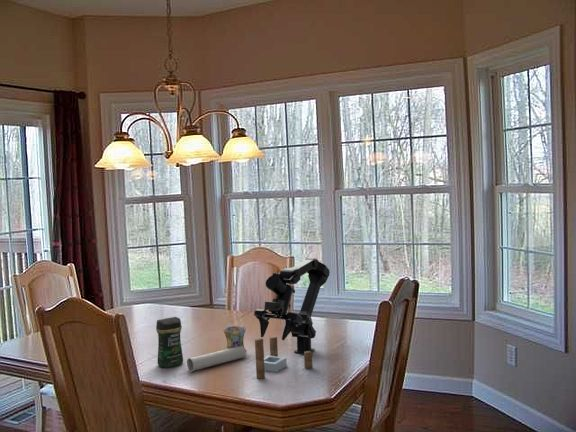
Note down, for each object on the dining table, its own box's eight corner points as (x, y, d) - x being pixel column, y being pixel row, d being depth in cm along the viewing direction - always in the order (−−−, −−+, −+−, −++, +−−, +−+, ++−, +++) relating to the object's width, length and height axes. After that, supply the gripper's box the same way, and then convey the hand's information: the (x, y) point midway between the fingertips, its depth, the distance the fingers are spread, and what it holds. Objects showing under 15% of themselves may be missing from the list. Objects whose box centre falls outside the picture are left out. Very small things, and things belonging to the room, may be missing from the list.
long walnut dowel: (259, 375, 201) (257, 337, 201) (266, 376, 200) (264, 338, 199) (254, 378, 199) (253, 340, 198) (262, 379, 197) (260, 340, 196)
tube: (240, 345, 227) (185, 358, 212) (247, 343, 223) (192, 357, 207) (243, 358, 226) (188, 372, 210) (250, 356, 222) (194, 371, 206)
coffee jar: (163, 369, 212) (160, 322, 211) (155, 365, 219) (152, 318, 218) (186, 364, 218) (184, 317, 217) (177, 359, 224) (175, 314, 223)
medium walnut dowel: (273, 358, 221) (272, 336, 220) (279, 359, 219) (278, 336, 219) (269, 360, 218) (268, 338, 218) (275, 361, 217) (274, 338, 216)
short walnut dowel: (307, 366, 210) (306, 350, 209) (313, 367, 208) (313, 351, 208) (303, 368, 207) (302, 352, 207) (310, 369, 206) (309, 353, 205)
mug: (251, 354, 226) (249, 329, 226) (230, 359, 222) (229, 333, 221) (237, 348, 237) (236, 323, 236) (217, 352, 232) (216, 327, 231)
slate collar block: (268, 362, 215) (268, 355, 215) (286, 365, 211) (286, 357, 211) (257, 369, 208) (257, 361, 208) (275, 372, 204) (275, 364, 204)
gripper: (252, 289, 212) (240, 328, 206) (294, 293, 203) (283, 334, 196) (266, 300, 221) (255, 338, 214) (307, 304, 211) (297, 344, 204)
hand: (272, 338), depth 207 cm, fingers open, 9 cm apart
